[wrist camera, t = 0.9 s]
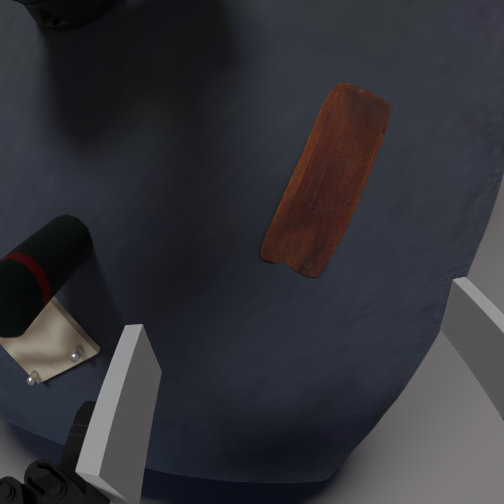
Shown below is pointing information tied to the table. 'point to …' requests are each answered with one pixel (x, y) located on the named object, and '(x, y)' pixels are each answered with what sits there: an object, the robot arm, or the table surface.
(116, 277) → the table surface
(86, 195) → the table surface
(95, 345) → the standoff plate
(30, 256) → the wine bottle
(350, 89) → the wooden tablet
